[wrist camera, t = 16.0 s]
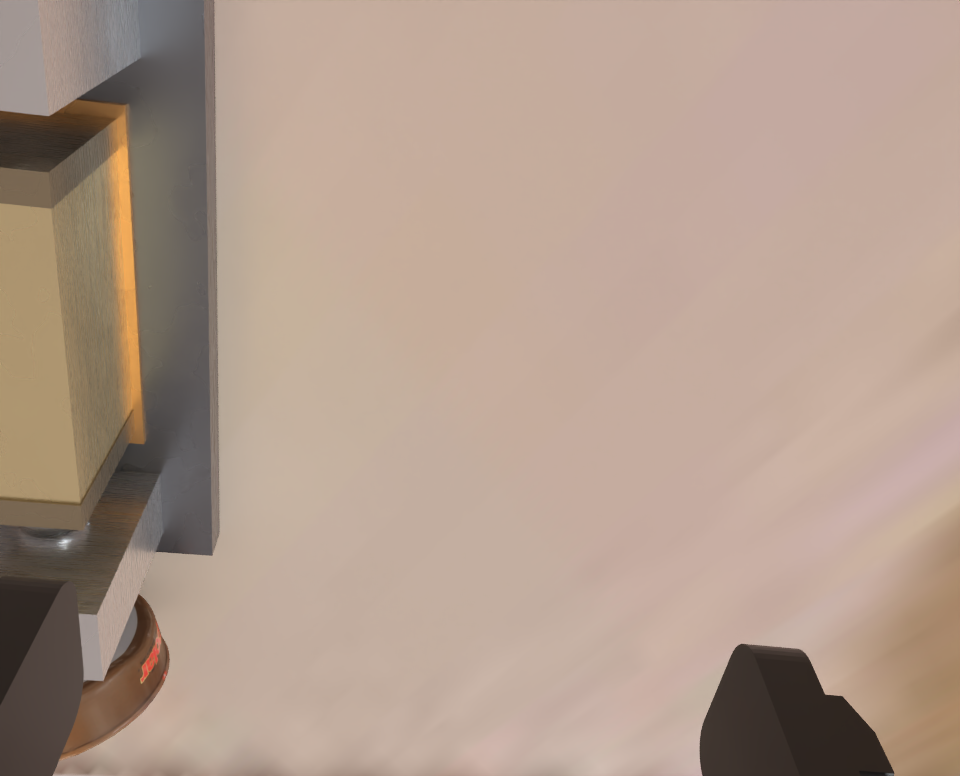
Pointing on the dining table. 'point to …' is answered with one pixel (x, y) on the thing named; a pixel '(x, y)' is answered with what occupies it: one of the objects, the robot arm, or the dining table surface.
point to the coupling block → (60, 319)
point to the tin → (122, 683)
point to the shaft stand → (136, 284)
